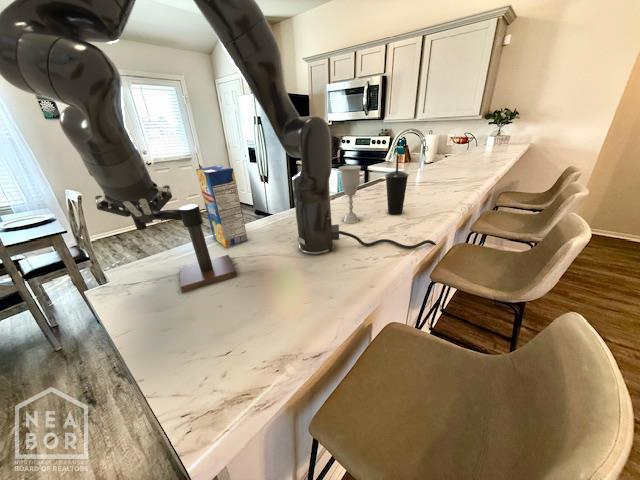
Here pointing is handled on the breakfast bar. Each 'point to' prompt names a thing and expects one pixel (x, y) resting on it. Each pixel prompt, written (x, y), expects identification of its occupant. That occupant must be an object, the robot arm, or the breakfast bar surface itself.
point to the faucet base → (204, 265)
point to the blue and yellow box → (222, 204)
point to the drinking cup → (396, 190)
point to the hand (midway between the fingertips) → (148, 219)
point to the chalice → (350, 187)
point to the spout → (175, 216)
